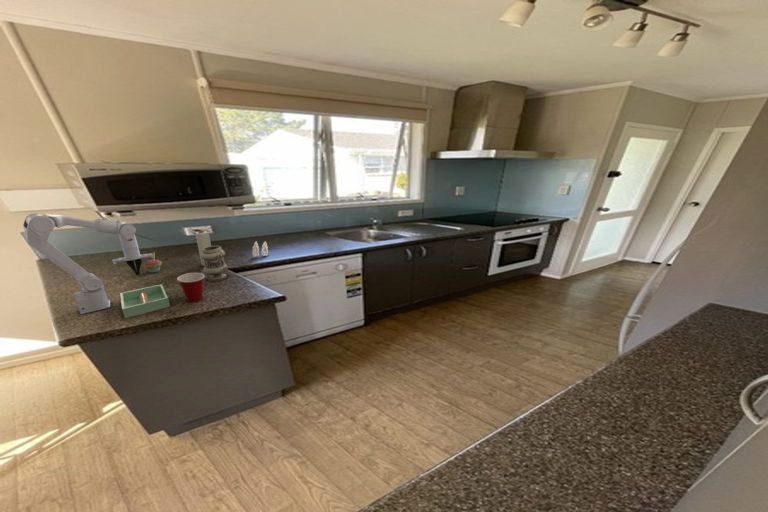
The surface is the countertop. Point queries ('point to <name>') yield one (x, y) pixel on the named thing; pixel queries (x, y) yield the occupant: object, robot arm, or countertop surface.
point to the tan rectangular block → (143, 297)
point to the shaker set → (256, 249)
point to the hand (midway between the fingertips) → (137, 274)
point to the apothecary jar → (214, 263)
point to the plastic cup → (192, 285)
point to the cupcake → (153, 264)
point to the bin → (134, 306)
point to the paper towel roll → (202, 242)
